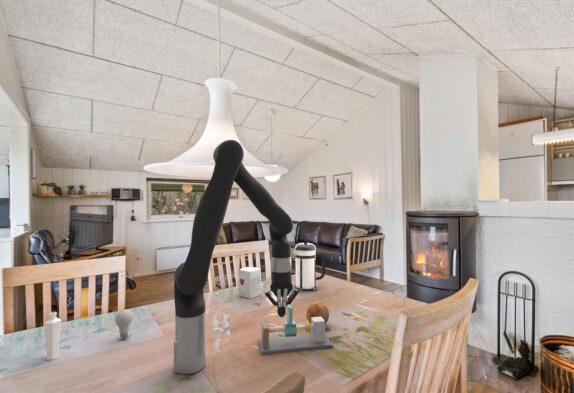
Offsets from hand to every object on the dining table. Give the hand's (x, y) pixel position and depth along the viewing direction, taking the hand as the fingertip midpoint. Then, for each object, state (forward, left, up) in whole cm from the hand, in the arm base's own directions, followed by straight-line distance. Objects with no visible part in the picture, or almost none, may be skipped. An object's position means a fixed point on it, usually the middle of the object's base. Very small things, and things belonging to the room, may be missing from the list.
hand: (281, 316), depth 109 cm
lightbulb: (-59, +17, -11) cm, 62 cm away
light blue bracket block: (+3, 0, -7) cm, 7 cm away
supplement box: (-8, +60, -11) cm, 61 cm away
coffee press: (+27, +66, -11) cm, 72 cm away
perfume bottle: (-78, +7, -11) cm, 79 cm away
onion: (+18, +14, -11) cm, 25 cm away
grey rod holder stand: (+5, 0, -11) cm, 12 cm away
